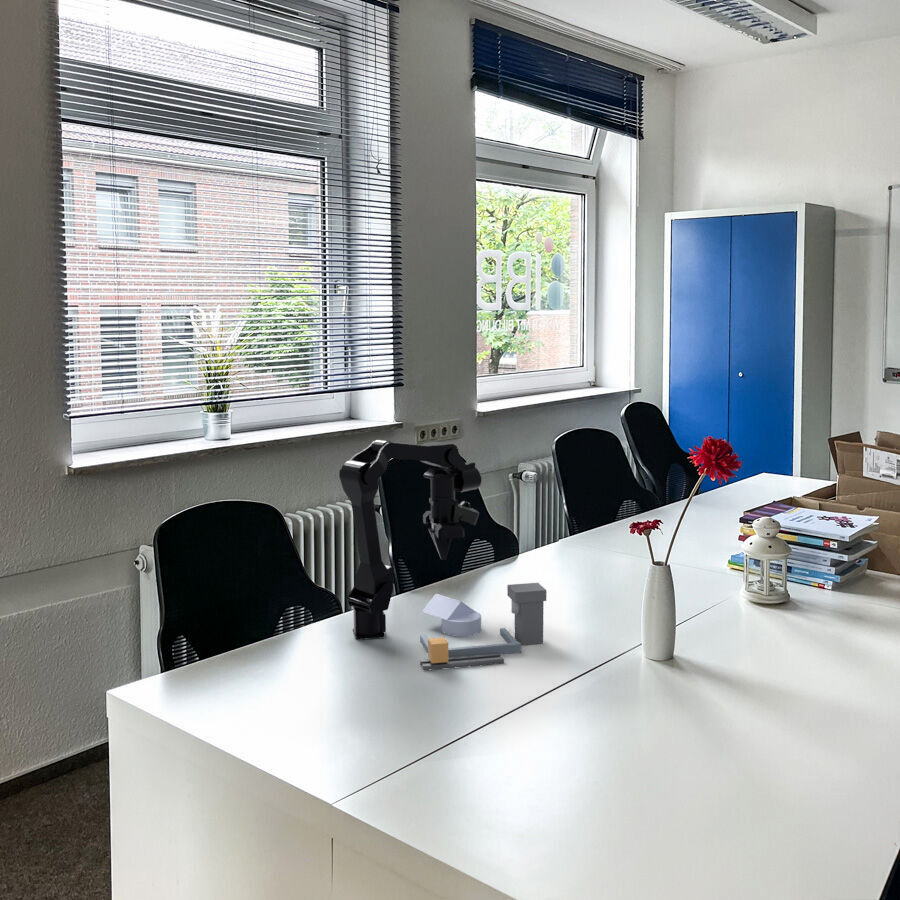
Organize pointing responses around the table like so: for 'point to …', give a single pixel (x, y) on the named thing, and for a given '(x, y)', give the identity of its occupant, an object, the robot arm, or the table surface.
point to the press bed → (526, 623)
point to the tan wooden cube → (438, 650)
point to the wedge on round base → (454, 616)
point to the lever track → (464, 661)
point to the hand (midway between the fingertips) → (443, 559)
